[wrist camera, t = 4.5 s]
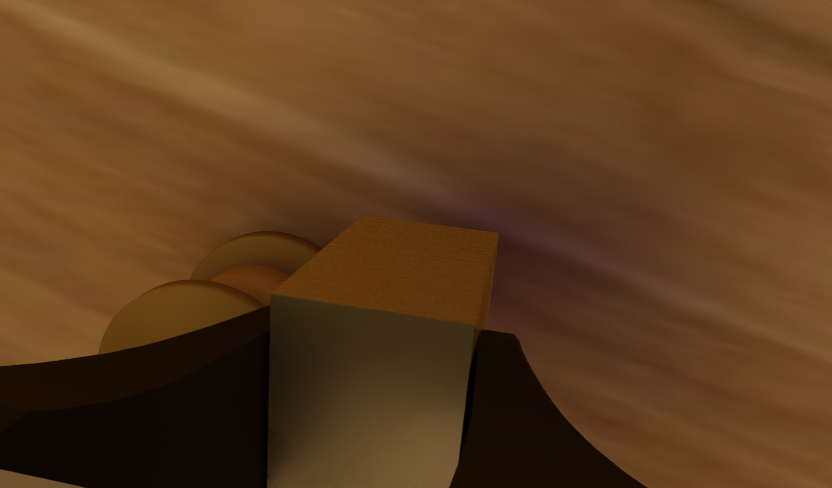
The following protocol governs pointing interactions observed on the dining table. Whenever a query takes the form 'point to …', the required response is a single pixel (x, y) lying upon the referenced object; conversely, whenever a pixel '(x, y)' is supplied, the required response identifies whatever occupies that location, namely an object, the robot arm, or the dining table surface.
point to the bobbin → (211, 290)
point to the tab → (377, 356)
